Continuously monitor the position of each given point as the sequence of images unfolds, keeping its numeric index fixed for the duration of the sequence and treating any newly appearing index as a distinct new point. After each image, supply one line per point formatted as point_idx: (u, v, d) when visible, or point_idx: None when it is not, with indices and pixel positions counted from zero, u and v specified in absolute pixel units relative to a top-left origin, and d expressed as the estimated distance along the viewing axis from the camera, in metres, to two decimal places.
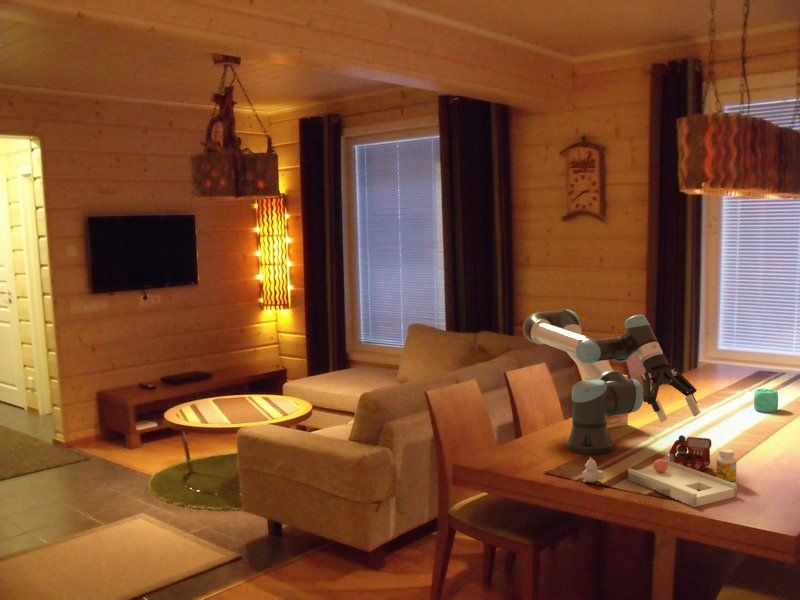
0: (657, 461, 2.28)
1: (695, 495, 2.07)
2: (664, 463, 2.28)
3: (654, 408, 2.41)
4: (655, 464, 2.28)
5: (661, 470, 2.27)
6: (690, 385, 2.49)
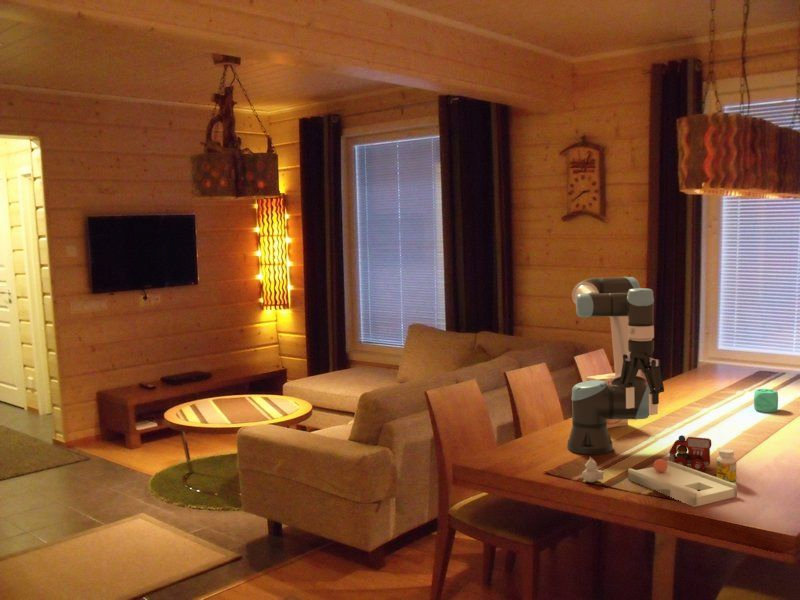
0: (657, 461, 2.28)
1: (695, 495, 2.07)
2: (664, 463, 2.28)
3: None
4: (655, 464, 2.28)
5: (661, 470, 2.27)
6: (655, 384, 2.27)
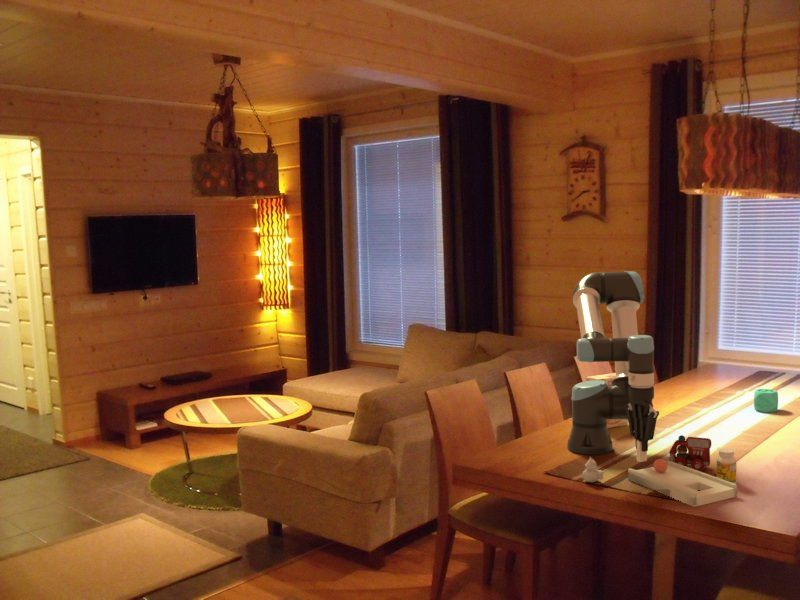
0: (657, 461, 2.28)
1: (695, 495, 2.07)
2: (664, 463, 2.28)
3: None
4: (655, 464, 2.28)
5: (661, 470, 2.27)
6: (646, 432, 2.32)
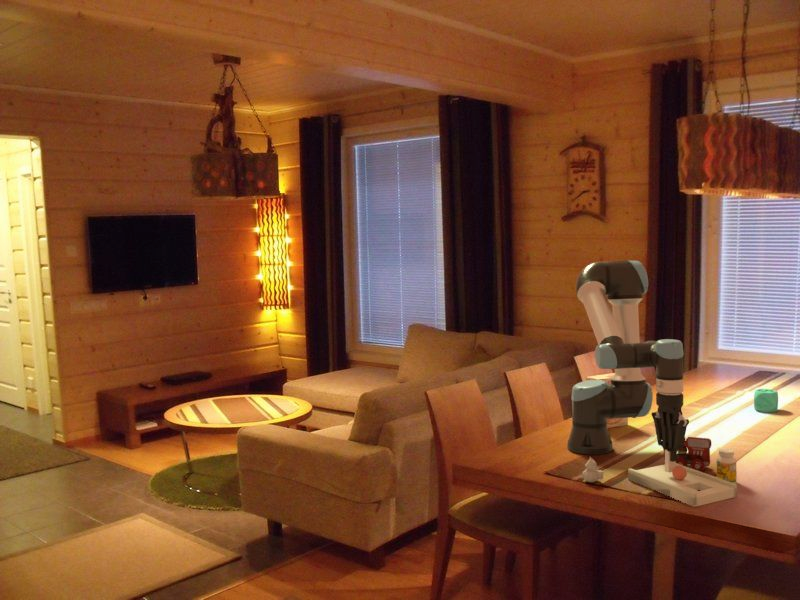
0: None
1: (695, 495, 2.07)
2: None
3: None
4: (673, 474, 2.22)
5: (675, 467, 2.22)
6: (675, 442, 2.21)
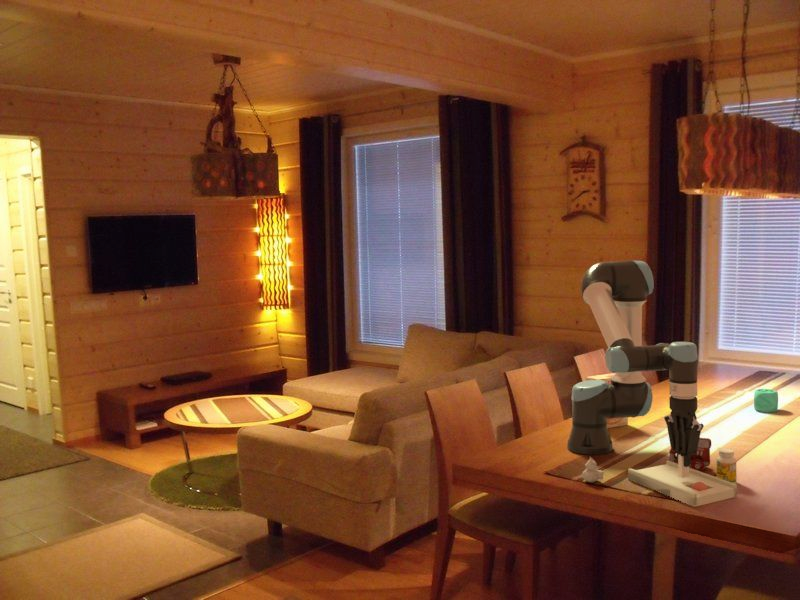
0: None
1: (695, 495, 2.07)
2: None
3: None
4: None
5: None
6: (689, 446, 2.16)
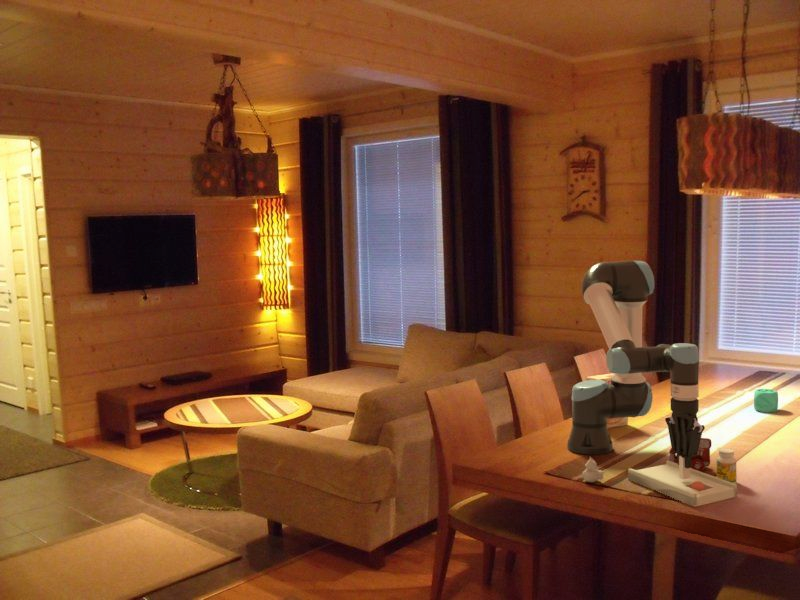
0: None
1: (695, 495, 2.07)
2: None
3: None
4: None
5: None
6: (690, 448, 2.16)
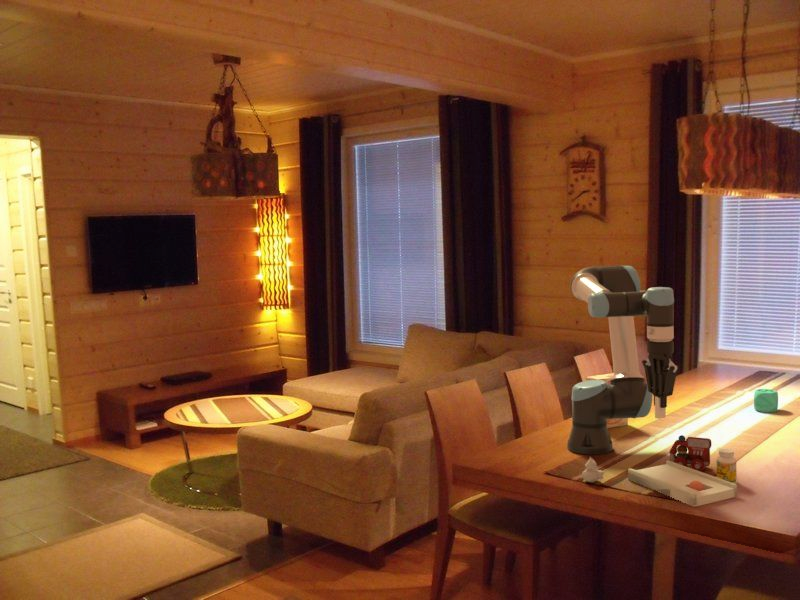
0: (696, 488, 2.14)
1: (695, 495, 2.07)
2: None
3: None
4: None
5: None
6: (665, 388, 2.23)
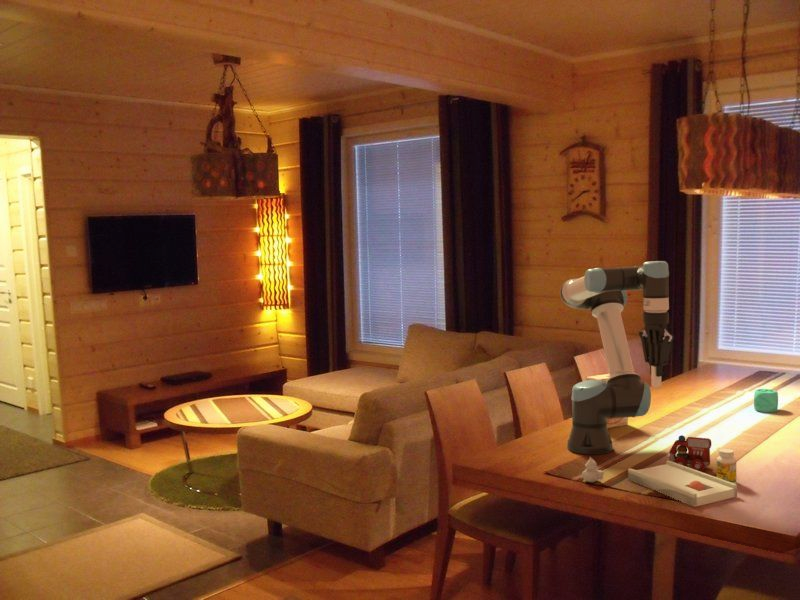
0: (697, 489, 2.14)
1: (695, 495, 2.07)
2: None
3: None
4: None
5: None
6: (661, 357, 2.34)
